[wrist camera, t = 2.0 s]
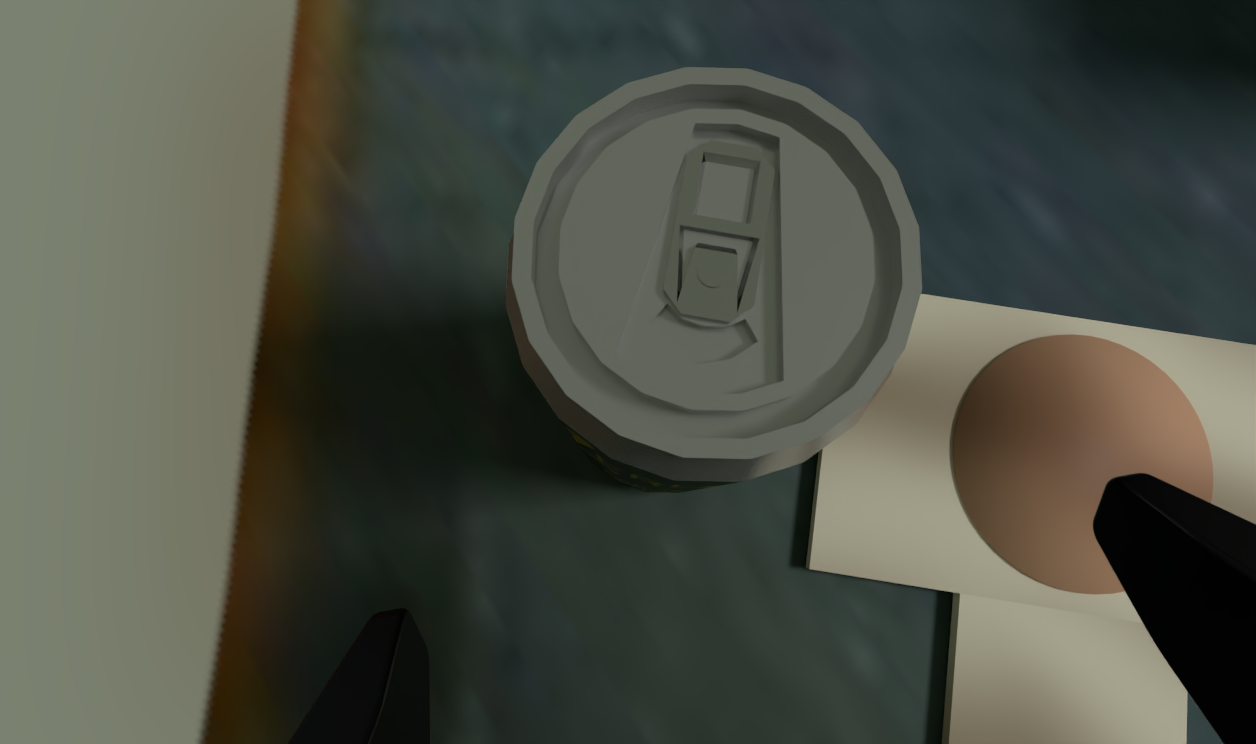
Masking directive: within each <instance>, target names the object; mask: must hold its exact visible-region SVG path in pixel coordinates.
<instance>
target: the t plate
mask: <svg viewBox="0 0 1256 744" xmlns="http://www.w3.org/2000/svg"><path fill="white" fill-rule="evenodd" d="M1134 473H1146V474H1149V475H1152V476H1154V477H1156V478H1159V479H1161V480H1163V481H1165V482H1167V483H1169V484H1171V485H1173V486H1176V487H1178V488H1180V489H1182V490H1184V491H1186V492H1188V493H1190V494H1192V495H1195V496H1197V497H1199V498H1201V499H1203V500H1205V501H1207V502H1209V503H1212V504H1214V505H1216V506H1218V507H1220V508H1222V509H1224V510H1226V511H1229V512H1231V513H1233V514H1235V515H1237V516H1239V517H1241V518H1243V519H1246V520H1248V521H1250V522H1252V523H1254V524H1256V345H1251V344H1244V343H1238V342H1231V341H1224V340H1218V339H1211V338H1205V337H1198V336H1192V335H1185V334H1179V333H1172V332H1166V331H1159V330H1153V329H1146V328H1140V327H1133V326H1127V325H1120V324H1114V323H1107V322H1101V321H1094V320H1088V319H1081V318H1075V317H1068V316H1062V315H1055V314H1049V313H1042V312H1036V311H1029V310H1023V309H1016V308H1010V307H1003V306H997V305H990V304H984V303H977V302H971V301H964V300H958V299H951V298H945V297H938V296H932V295H925V294H921V295H920V298H919V302H918V305H917V309H916V312H915V316H914V319H913V323H912V326H911V330H910V333H909V337H908V340H907V344H906V347H905V350H904V351H903V353H902V354H901V356H900V357H899V358H898V360H897V361H896V363H895V364H894V367H893V370H892V374H891V375H890V376H889V378H888V379H887V381H886V382H885V384H884V385H883V386H882V388H881V389H880V391H879V392H878V394H877V395H876V396H875V398H874V399H873V401H872V402H871V403H870V405H869V406H868V408H867V409H866V411H865V412H864V413H863V415H862V416H861V418H860V419H859V420H858V422H857V423H856V425H855V426H853V427H852V428H850V429H849V430H848V431H846V432H845V433H844V434H842V435H841V436H839V437H838V438H837V439H835V440H834V441H832V442H831V443H830V444H828V445H827V446H825V447H824V448H823V449H821V450H820V451H819V453H818V462H817V471H816V480H815V489H814V498H813V507H812V516H811V525H810V534H809V542H808V551H807V560H806V568H808V569H812V570H818V571H824V572H831V573H837V574H843V575H849V576H855V577H861V578H868V579H874V580H880V581H886V582H892V583H899V584H905V585H911V586H917V587H923V588H929V589H936V590H942V591H948V592H953V603H952V616H951V629H950V642H949V655H948V668H947V681H946V694H945V708H944V721H943V734H942V744H1186V732H1187V690H1186V689H1185V687H1184V686H1183V684H1182V683H1181V682H1180V680H1179V679H1178V677H1177V676H1176V674H1175V673H1174V672H1173V670H1172V669H1171V667H1170V666H1169V664H1168V663H1167V661H1166V660H1165V658H1164V657H1163V655H1162V654H1161V652H1160V651H1159V649H1158V648H1157V646H1156V644H1155V643H1154V641H1153V639H1152V638H1151V636H1150V635H1149V633H1148V631H1147V630H1146V628H1145V626H1144V624H1143V622H1142V621H1141V619H1140V617H1139V615H1138V613H1137V612H1136V610H1135V608H1134V606H1133V605H1132V603H1131V601H1130V599H1129V597H1128V596H1127V594H1126V592H1125V590H1124V589H1123V587H1122V585H1121V583H1120V581H1119V580H1118V578H1117V576H1116V574H1115V572H1114V571H1113V569H1112V567H1111V565H1110V564H1109V562H1108V560H1107V558H1106V556H1105V555H1104V553H1103V551H1102V549H1101V547H1100V546H1099V544H1098V542H1097V540H1096V538H1095V535H1094V531H1093V518H1094V516H1095V513H1096V510H1097V507H1098V505H1099V502H1100V499H1101V496H1102V494H1103V491H1104V488H1105V486H1106V484H1107V482H1108V481H1109V480H1110V479H1112V478H1114V477H1118V476H1124V475H1129V474H1134Z"/></svg>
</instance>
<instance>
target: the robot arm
mask: <svg viewBox="0 0 1256 744" xmlns="http://www.w3.org/2000/svg"><path fill="white" fill-rule="evenodd" d="M1093 531H1094V535H1095V538H1096V540H1097V542H1098V544H1099V546H1100V547H1101V549H1102V551H1103V553H1104V555H1105V556H1106V558H1107V560H1108V562H1109V564H1110V565H1111V567H1112V569H1113V571H1114V572H1115V574H1116V576H1117V578H1118V580H1119V581H1120V583H1121V585H1122V587H1123V589H1124V590H1125V592H1126V594H1127V596H1128V597H1129V599H1130V601H1131V603H1132V605H1133V606H1134V608H1135V610H1136V612H1137V613H1138V615H1139V617H1140V619H1141V621H1142V622H1143V624H1144V626H1145V628H1146V630H1147V631H1148V633H1149V635H1150V636H1151V638H1152V639H1153V641H1154V643H1155V644H1156V646H1157V648H1158V649H1159V651H1160V652H1161V654H1162V655H1163V657H1164V658H1165V660H1166V661H1167V663H1168V664H1169V666H1170V667H1171V669H1172V670H1173V672H1174V673H1175V674H1176V676H1177V677H1178V679H1179V680H1180V682H1181V683H1182V684H1183V686H1184V687H1185V689H1186V690H1187V692H1188V693H1189V695H1190V696H1191V697H1192V699H1193V700H1194V702H1195V703H1196V705H1197V706H1198V707H1199V709H1200V710H1201V712H1202V713H1203V715H1204V716H1205V717H1206V719H1207V720H1208V722H1209V723H1210V725H1211V726H1212V728H1213V729H1214V730H1215V732H1216V733H1217V735H1218V736H1219V738H1220V739H1221V740H1222V742H1223V743H1224V744H1256V524H1254V523H1252V522H1250V521H1248V520H1246V519H1243V518H1241V517H1239V516H1237V515H1235V514H1233V513H1231V512H1229V511H1226V510H1224V509H1222V508H1220V507H1218V506H1216V505H1214V504H1212V503H1209V502H1207V501H1205V500H1203V499H1201V498H1199V497H1197V496H1195V495H1192V494H1190V493H1188V492H1186V491H1184V490H1182V489H1180V488H1178V487H1176V486H1173V485H1171V484H1169V483H1167V482H1165V481H1163V480H1161V479H1159V478H1156V477H1154V476H1152V475H1149V474H1146V473H1134V474H1129V475H1124V476H1118V477H1114V478H1112V479H1110V480H1109V481H1108V482H1107V484H1106V486H1105V488H1104V491H1103V494H1102V496H1101V499H1100V502H1099V505H1098V507H1097V510H1096V513H1095V516H1094V518H1093ZM288 744H430V708H429V656H428V651H427V647H426V644H425V642H424V640H423V638H422V636H421V634H420V632H419V630H418V627H417V625H416V623H415V621H414V619H413V617H412V615H411V613H410V612H409V611H408V610H407V609H405V608H400V609H394V610H389V611H384V612H379V613H376V614H374V615H373V616H372V617H371V618H370V619H369V620H368V622H367V623H366V625H365V626H364V628H363V629H362V631H361V632H360V634H359V636H358V637H357V639H356V640H355V642H354V643H353V645H352V646H351V648H350V649H349V651H348V652H347V654H346V655H345V657H344V658H343V660H342V661H341V663H340V664H339V666H338V668H337V669H336V671H335V672H334V674H333V675H332V677H331V678H330V680H329V681H328V683H327V684H326V686H325V687H324V689H323V690H322V692H321V693H320V695H319V697H318V698H317V700H316V701H315V703H314V704H313V706H312V707H311V709H310V710H309V712H308V713H307V715H306V716H305V718H304V719H303V721H302V722H301V724H300V725H299V727H298V729H297V730H296V732H295V733H294V735H293V736H292V738H291V739H290V741H289V742H288Z"/></svg>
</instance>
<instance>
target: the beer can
mask: <svg viewBox="0 0 1256 744" xmlns="http://www.w3.org/2000/svg"><path fill="white" fill-rule="evenodd" d="M921 292H922V276H921V257H920V238H919V226H918V224H917V221H916V219H915V216H914V213H913V211H912V208H911V206H910V203H909V201H908V198H907V196H906V193H905V190H904V188H903V185H902V183H901V180H900V178H899V175H898V173H897V170H896V169H895V168H894V166H893V165H892V164H891V163H890V161H889V160H888V159H887V158H886V156H885V155H884V154H883V153H882V151H881V150H880V149H879V148H878V146H877V145H876V144H875V143H874V142H873V140H872V139H871V138H870V137H869V135H868V134H867V133H866V132H865V130H864V129H863V128H862V127H861V125H860V124H859V123H858V122H857V121H855V120H854V119H853V118H851V117H850V116H848V115H847V114H845V113H844V112H842V111H841V110H839V109H838V108H836V107H835V106H833V105H832V104H830V103H829V102H827V101H826V100H824V99H823V98H822V97H820V96H819V95H817V94H816V93H814V92H813V91H811V90H810V89H808V88H807V87H804V86H801V85H798V84H794V83H791V82H788V81H785V80H782V79H779V78H776V77H773V76H769V75H766V74H763V73H760V72H757V71H754V70H751V69H744V68H701V67H685V68H681V69H678V70H674V71H670V72H667V73H663V74H659V75H656V76H652V77H648V78H645V79H641V80H637V81H634V82H630V83H627V84H625V85H624V86H622V87H620V88H619V89H617V90H616V91H614V92H613V93H611V94H609V95H608V96H606V97H605V98H603V99H601V100H600V101H598V102H597V103H595V104H594V105H592V106H590V107H589V108H587V109H586V110H584V111H582V112H581V113H579V114H578V115H576V116H575V117H574V119H573V120H572V121H571V122H570V123H569V124H568V126H567V127H566V128H565V129H564V130H563V132H562V133H561V134H560V135H559V136H558V138H557V139H556V140H555V141H554V142H553V144H552V145H551V146H550V147H549V148H548V150H547V151H546V152H545V153H544V154H543V155H542V157H541V158H540V159H539V160H538V161H537V163H536V166H535V168H534V171H533V174H532V176H531V179H530V181H529V184H528V186H527V189H526V191H525V194H524V196H523V199H522V201H521V204H520V206H519V209H518V211H517V214H516V216H515V222H514V232H513V235H512V237H511V240H510V242H509V249H508V269H507V288H506V309H507V312H508V316H509V319H510V323H511V326H512V330H513V333H514V337H515V340H516V344H517V348H518V351H519V355H520V358H521V362H522V365H523V367H524V368H525V370H526V371H527V373H528V374H529V376H530V377H531V379H532V380H533V382H534V383H535V385H536V386H537V387H538V389H539V390H540V392H541V393H542V395H543V396H544V398H545V399H546V401H547V402H548V404H549V405H550V407H551V408H552V409H553V411H554V412H555V414H556V415H557V417H558V418H559V420H560V421H561V422H562V424H563V425H564V426H565V427H566V429H567V430H568V431H569V433H570V434H571V435H572V437H573V438H574V439H575V441H576V442H577V443H578V444H579V446H580V447H581V448H582V450H583V451H584V452H585V454H586V455H587V456H588V458H589V459H590V460H591V461H592V463H594V464H595V465H596V466H598V467H599V468H600V469H602V470H603V471H604V472H605V473H607V474H608V475H609V476H611V477H612V478H613V479H615V480H616V481H617V482H620V483H623V484H626V485H629V486H631V487H634V488H637V489H640V490H643V491H646V492H670V493H680V492H686V491H691V490H697V489H703V488H709V487H714V486H720V485H726V484H732V483H737V482H742V481H745V480H748V479H752V478H755V477H758V476H761V475H765V474H768V473H771V472H774V471H778V470H781V469H784V468H787V467H791V466H794V465H797V464H800V463H803V462H805V461H806V460H807V459H809V458H810V457H812V456H813V455H814V454H816V453H817V452H819V451H820V450H821V449H823V448H824V447H825V446H827V445H828V444H830V443H831V442H832V441H834V440H835V439H837V438H838V437H839V436H841V435H842V434H844V433H845V432H846V431H848V430H849V429H850V428H852V427H853V426H855V425H856V423H857V422H858V420H859V419H860V418H861V416H862V415H863V413H864V412H865V411H866V409H867V408H868V406H869V405H870V403H871V402H872V401H873V399H874V398H875V396H876V395H877V394H878V392H879V391H880V389H881V388H882V386H883V385H884V384H885V382H886V381H887V379H888V378H889V376H890V375H891V374H892V370H893V367H894V364H895V363H896V361H897V360H898V358H899V357H900V356H901V354H902V353H903V351H904V350H905V347H906V344H907V340H908V337H909V333H910V330H911V326H912V323H913V319H914V316H915V312H916V309H917V305H918V302H919V298H920V295H921Z"/></svg>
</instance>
